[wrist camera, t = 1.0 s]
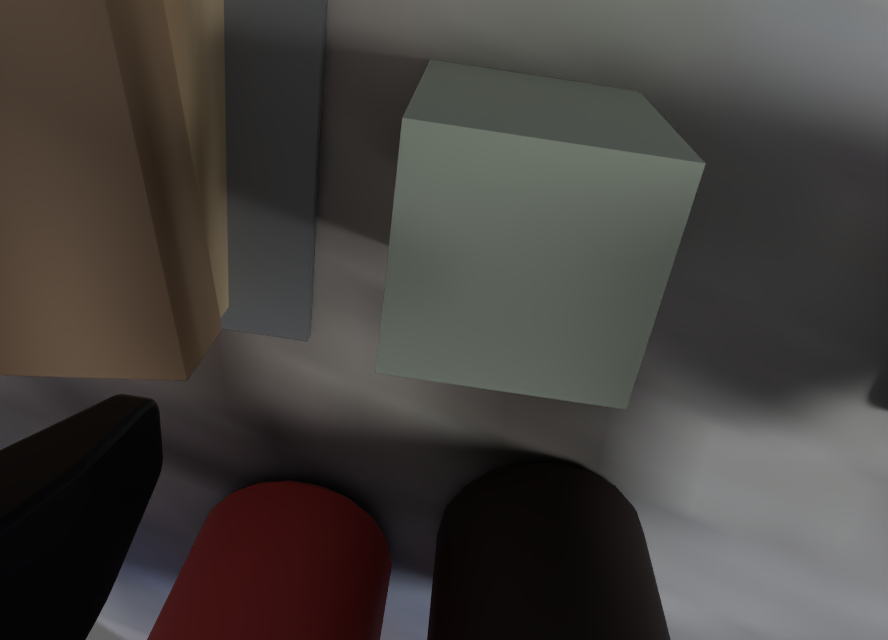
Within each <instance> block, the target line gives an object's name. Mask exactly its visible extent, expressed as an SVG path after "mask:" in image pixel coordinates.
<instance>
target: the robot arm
mask: <svg viewBox="0 0 888 640" xmlns="http://www.w3.org/2000/svg"><path fill="white" fill-rule="evenodd" d="M162 461H163V452H162V439H161V427H160V414H159V408H158V405H157V403H156V402H155V401H154V400H153V399H150V398H145V397H138V396H131V395H124V394H119V395H115V396H113V397H110V398H108V399H106V400H104V401H102V402H100V403H98V404H96V405H94V406H92V407H89V408H87V409H85V410H83V411H81V412H79V413H77V414H75V415H73V416H71V417H69V418H67V419H64V420H62V421H60V422H58V423H56V424H54V425H52V426H50V427H48V428H46V429H44V430H42V431H40V432H37V433H35V434H33V435H31V436H29V437H27V438H25V439H23V440H21V441H19V442H17V443H15V444H12V445H10V446H8V447H6V448H4V449H2V450H0V640H85V639H86V638H87V636H88V634H89V632H90V630H91V629H92V627H93V625H94V623H95V622H96V620H97V618H98V616H99V614H100V612H101V610H102V608H103V606H104V604H105V603H106V601H107V599H108V596H109V594H110V592H111V590H112V587H113V585H114V583H115V581H116V578H117V576H118V574H119V571H120V569H121V567H122V564H123V562H124V559H125V557H126V555H127V552H128V550H129V548H130V545H131V543H132V540H133V538H134V536H135V533H136V531H137V528H138V526H139V524H140V521H141V519H142V517H143V514H144V512H145V509H146V507H147V505H148V502H149V500H150V498H151V495H152V493H153V490H154V488H155V486H156V483H157V481H158V478H159V476H160V472H161V468H162Z"/></svg>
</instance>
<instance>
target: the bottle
mask: <svg viewBox="0 0 888 640" xmlns="http://www.w3.org/2000/svg"><path fill="white" fill-rule="evenodd" d="M427 640H670V636H669V632H668V628H667V624H666V620H665V616H664V612H663V608H662V604H661V600H660V596H659V592H658V588H657V584H656V580H655V576H654V572H653V568H652V564H651V560H650V556H649V552H648V548H647V544H646V540H645V536H644V532H643V529H642V526H641V523H640V521H639V518H638V515H637V512H636V510H635V508H634V507H633V506H632V505H631V503H630V502H629V501H628V500H627V499H626V498H625V497H624V495H623V494H622V493H621V492H620V491H619V490H618V489H617V488H616V486H614V485H612V484H611V483H609V482H607V481H605V480H604V479H602V478H600V477H599V476H597V475H595V474H593V473H592V472H590V471H587V470H583V469H579V468H575V467H571V466H567V465H563V464H559V463H521V464H517V465H513V466H509V467H505V468H502V469H498V470H494V471H491V472H489V473H487V474H485V475H484V476H482V477H480V478H478V479H477V480H475V481H473V482H471V483H470V484H468V485H466V486H465V487H464V488H463V489H462V490H461V491H460V493H459V494H458V495H457V496H456V497H455V498H454V499H453V500H452V501H451V503H450V504H449V505H448V506H447V508H446V510H445V513H444V516H443V519H442V521H441V524H440V527H439V530H438V532H437V541H436V552H435V562H434V573H433V584H432V594H431V605H430V616H429V626H428V637H427Z"/></svg>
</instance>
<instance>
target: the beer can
mask: <svg viewBox="0 0 888 640" xmlns="http://www.w3.org/2000/svg"><path fill="white" fill-rule="evenodd" d="M391 567H392V561H391V556H390V552H389V548H388V543H387V540H386V538H385V536H384V534H383V533H382V531H381V530H380V529H379V527H378V526H377V524H376V523H375V521H374V520H373V518H372V517H371V516H370V515H369V514H368V513H367V512H365V511H364V510H363V509H362V508H360V507H359V506H358V505H357V504H355V503H354V502H353V501H351V500H350V499H349V498H348V497H346V496H343V495H341V494H339V493H337V492H334V491H332V490H330V489H328V488H325V487H323V486H321V485H315V484H310V483H304V482H299V481H293V480H288V481H272V482H260V483H257V484H254V485H251V486H249V487H246V488H243V489H240V490H237V491H234V492H233V493H231V494H230V495H229V496H227V497H226V498H225V499H224V500H223V501H221V502H220V503H219V504H218V505H216V506H215V507H214V508H213V509H211V511H210V513H209V515H208V517H207V519H206V521H205V523H204V525H203V527H202V528H201V530H200V533H199V535H198V537H197V539H196V541H195V543H194V545H193V547H192V549H191V551H190V553H189V555H188V557H187V559H186V561H185V563H184V565H183V567H182V569H181V571H180V573H179V575H178V577H177V580H176V582H175V584H174V586H173V588H172V590H171V592H170V594H169V596H168V598H167V600H166V602H165V604H164V606H163V608H162V610H161V612H160V614H159V616H158V618H157V620H156V622H155V625H154V627H153V629H152V631H151V633H150V635H149V637H148V639H147V640H380V636H381V629H382V623H383V617H384V611H385V604H386V598H387V592H388V586H389V580H390V573H391Z"/></svg>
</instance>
